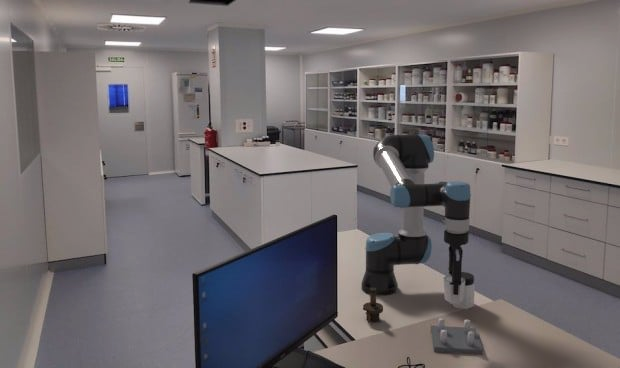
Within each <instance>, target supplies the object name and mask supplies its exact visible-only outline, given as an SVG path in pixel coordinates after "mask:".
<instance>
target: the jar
mask: <svg viewBox="0 0 620 368" xmlns="http://www.w3.org/2000/svg"><path fill="white" fill-rule="evenodd" d="M461 277H463V278H464V279H465V287H464V294H463V300H462V302H460V303H459V304H452V303H450V304H451V305H452V307H453V308H456V309H462V310H468V309H471V308H473V307H474V306H475V289H476V288H475V287H476V286H475V285H476V283H475V276H474V274H472V273H470V272H466V271H461Z"/></svg>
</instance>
